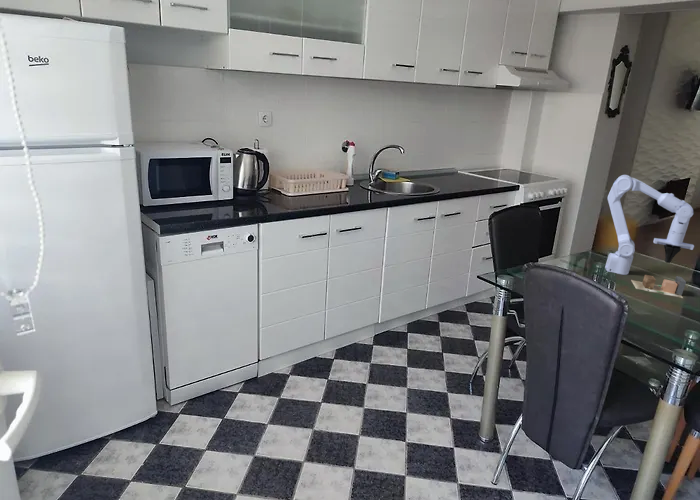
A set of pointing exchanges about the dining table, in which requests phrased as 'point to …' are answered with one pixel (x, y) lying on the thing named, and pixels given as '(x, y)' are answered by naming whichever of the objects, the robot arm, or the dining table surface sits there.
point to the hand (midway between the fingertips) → (667, 262)
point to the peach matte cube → (669, 286)
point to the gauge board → (656, 289)
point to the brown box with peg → (649, 281)
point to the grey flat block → (680, 285)
